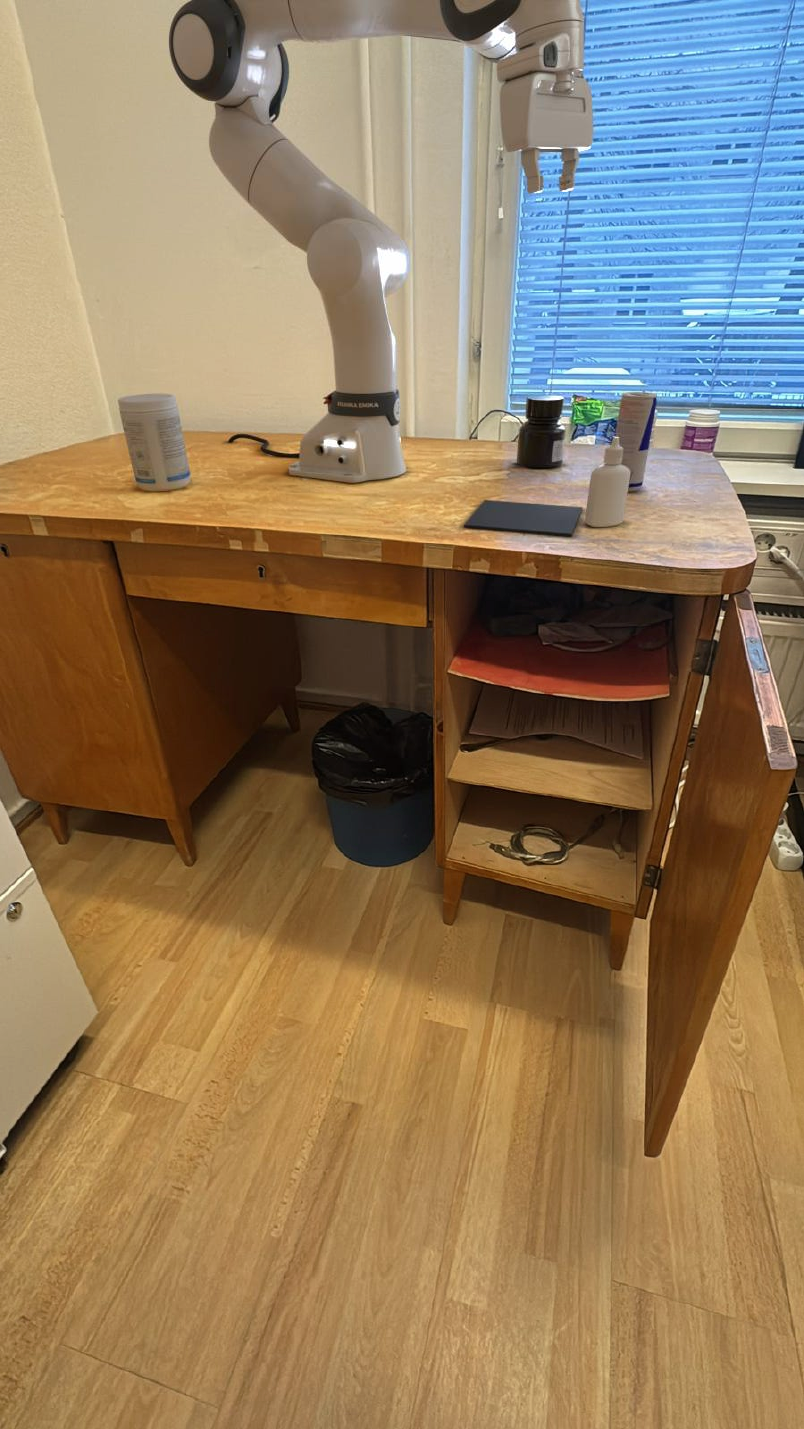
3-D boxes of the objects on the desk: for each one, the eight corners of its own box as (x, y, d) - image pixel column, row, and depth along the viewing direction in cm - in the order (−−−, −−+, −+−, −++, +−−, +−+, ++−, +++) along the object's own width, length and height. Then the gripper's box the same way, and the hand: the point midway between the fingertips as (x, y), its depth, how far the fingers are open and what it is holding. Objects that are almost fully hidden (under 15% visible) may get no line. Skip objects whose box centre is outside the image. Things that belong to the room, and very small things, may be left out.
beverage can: (643, 493, 115) (660, 396, 107) (608, 492, 116) (622, 395, 108) (640, 485, 119) (656, 391, 111) (606, 484, 120) (620, 390, 112)
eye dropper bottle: (582, 518, 103) (593, 434, 97) (621, 519, 102) (634, 434, 96) (585, 527, 99) (596, 440, 93) (625, 528, 99) (639, 440, 92)
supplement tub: (189, 477, 128) (174, 391, 120) (194, 489, 121) (179, 398, 113) (135, 482, 125) (116, 395, 118) (137, 495, 118) (117, 402, 110)
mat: (463, 527, 100) (463, 524, 100) (484, 502, 111) (484, 500, 111) (571, 536, 96) (572, 533, 96) (582, 509, 107) (582, 507, 107)
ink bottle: (566, 469, 130) (574, 400, 124) (519, 470, 130) (525, 401, 124) (557, 458, 138) (564, 393, 132) (513, 458, 138) (518, 394, 132)
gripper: (564, 75, 99) (565, 193, 106) (488, 63, 86) (496, 198, 94) (605, 61, 95) (603, 185, 103) (533, 47, 83) (536, 189, 90)
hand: (551, 191), depth 98 cm, fingers open, 8 cm apart
